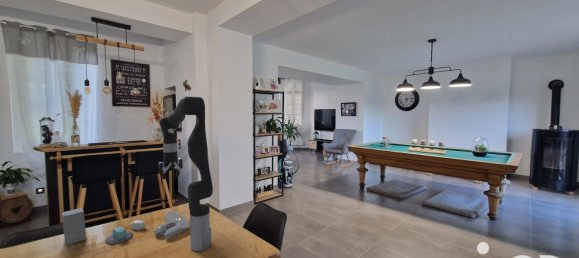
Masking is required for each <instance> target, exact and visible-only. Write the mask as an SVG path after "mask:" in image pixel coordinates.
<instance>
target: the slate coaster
mask: <svg viewBox="0 0 579 258" xmlns="http://www.w3.org/2000/svg"><path fill="white" fill-rule="evenodd" d="M126 235H127V238H126V239H125V240H122V241H119V240H117V239H115V238H113V234H112V235H109V236H107V238H105V240H104V241H105V242H104V243H105V244H107V245H118V244H122V243H125V242H127V241H129V240H131V239H132V238H133V237H134V234H133V232H131V231H126Z"/></svg>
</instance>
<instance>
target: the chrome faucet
mask: <svg viewBox="0 0 579 258" xmlns="http://www.w3.org/2000/svg"><path fill="white" fill-rule="evenodd" d="M164 221H165V223H163V224H161V225H158V226H156V227H155V228H154V229H153V233H154V236H156V237H157V238H159V237H161V236H164V238H165V239H167V240H169V239H171V238H173V237H175V236H177V235H179V234H180V233H182V232H184V231H186V230H188V228H190V221H189V220H188V219H187V218H186V217H185V216H183V215H182V214H180V213H179V212H176V211H175V210H169V211H167V212H166V214H165V215H164Z"/></svg>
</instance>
